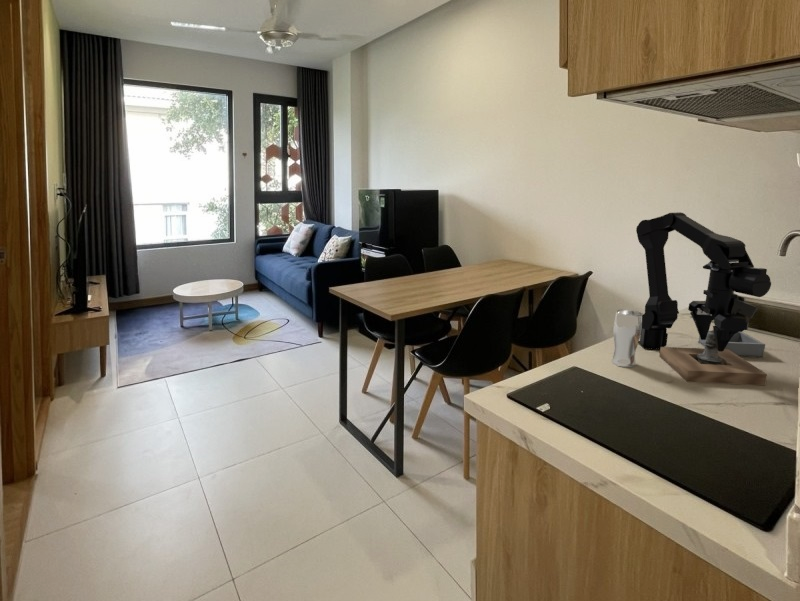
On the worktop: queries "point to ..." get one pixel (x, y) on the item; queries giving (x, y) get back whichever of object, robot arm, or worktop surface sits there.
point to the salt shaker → (710, 351)
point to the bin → (743, 345)
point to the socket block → (712, 367)
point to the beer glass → (626, 336)
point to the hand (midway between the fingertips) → (711, 345)
